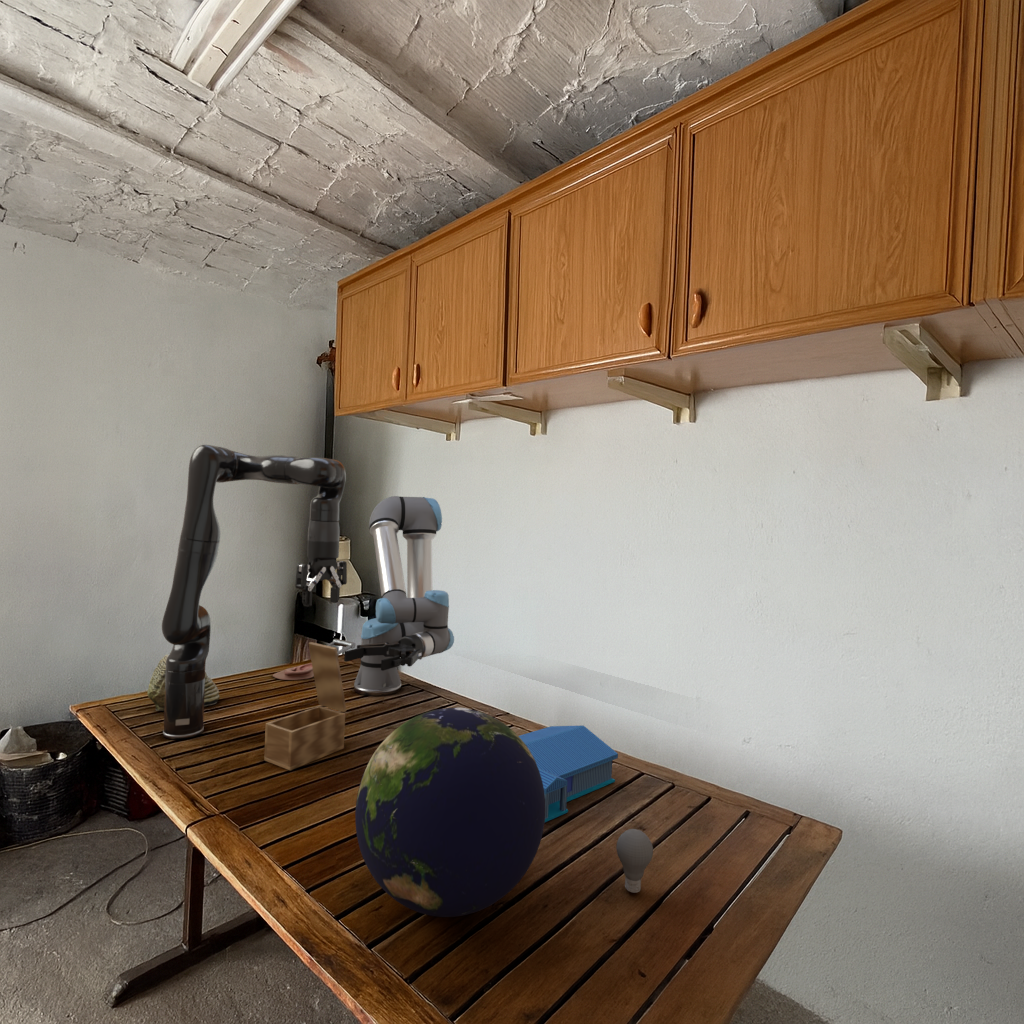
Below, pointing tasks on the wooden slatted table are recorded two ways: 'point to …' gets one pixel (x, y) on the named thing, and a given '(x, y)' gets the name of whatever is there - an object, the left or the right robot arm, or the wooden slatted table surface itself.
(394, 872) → the globe
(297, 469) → the left robot arm
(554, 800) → the model building
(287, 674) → the anatomical model
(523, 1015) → the wooden slatted table surface
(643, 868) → the light bulb
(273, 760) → the chest
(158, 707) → the fossil
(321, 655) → the lid
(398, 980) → the wooden slatted table surface
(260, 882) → the wooden slatted table surface
